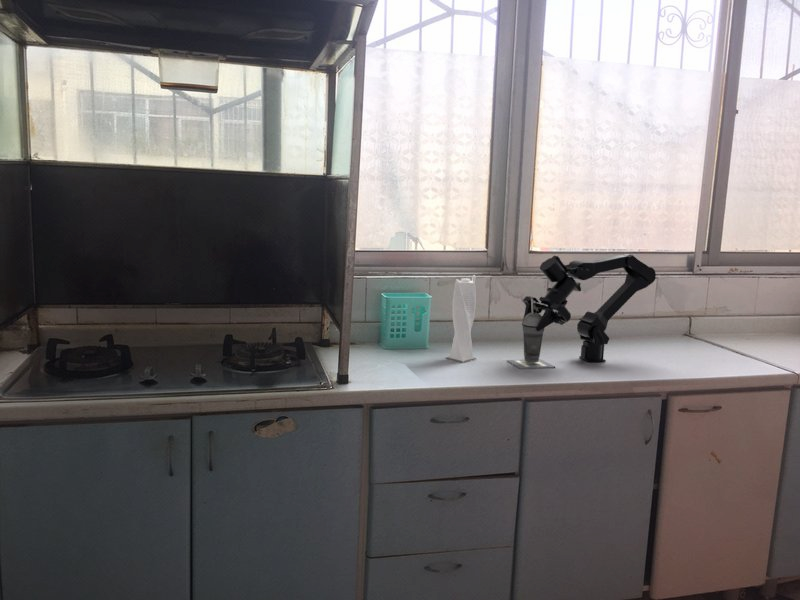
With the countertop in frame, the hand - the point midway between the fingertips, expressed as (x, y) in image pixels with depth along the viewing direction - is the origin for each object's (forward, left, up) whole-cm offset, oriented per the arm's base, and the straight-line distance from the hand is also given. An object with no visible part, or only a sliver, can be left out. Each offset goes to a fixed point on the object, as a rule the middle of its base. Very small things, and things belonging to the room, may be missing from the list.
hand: (529, 328), depth 217 cm
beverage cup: (-1, 0, -11) cm, 11 cm away
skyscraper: (+19, -9, -12) cm, 24 cm away
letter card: (-1, 0, -12) cm, 12 cm away
